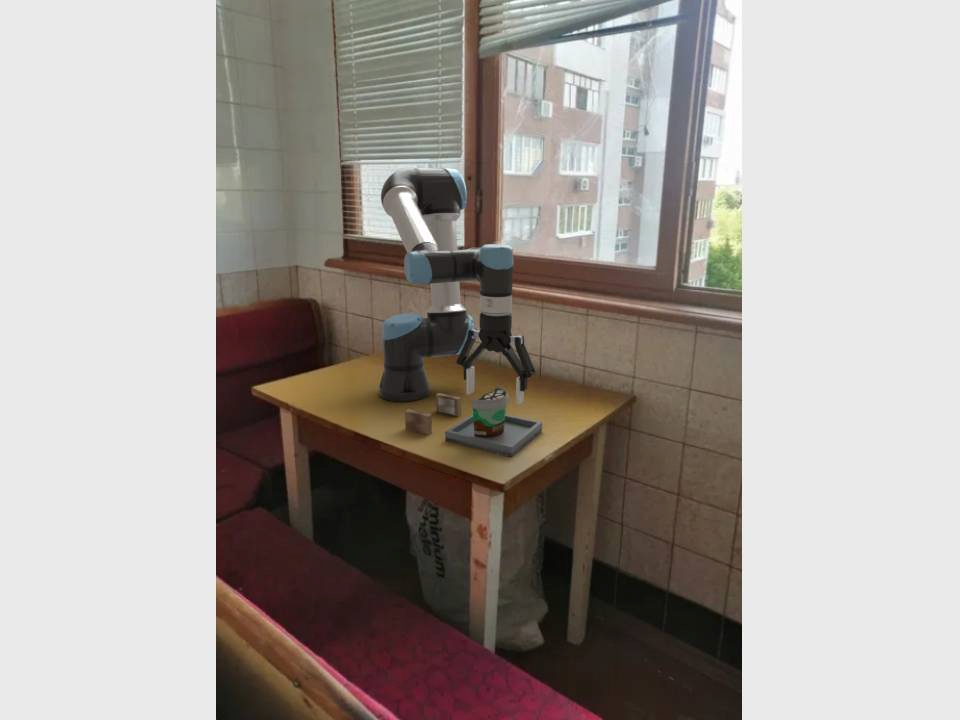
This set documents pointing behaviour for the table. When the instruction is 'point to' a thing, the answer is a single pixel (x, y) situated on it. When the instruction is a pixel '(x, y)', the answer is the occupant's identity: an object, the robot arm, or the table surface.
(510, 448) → the tray
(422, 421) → the brown rectangular blocks
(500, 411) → the food container
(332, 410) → the table surface
